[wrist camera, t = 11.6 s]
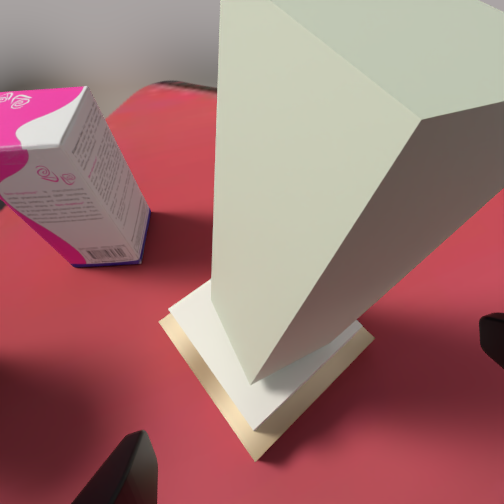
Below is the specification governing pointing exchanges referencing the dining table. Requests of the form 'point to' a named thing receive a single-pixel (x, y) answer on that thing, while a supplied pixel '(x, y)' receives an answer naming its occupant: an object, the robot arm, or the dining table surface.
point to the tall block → (344, 158)
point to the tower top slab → (229, 368)
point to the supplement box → (70, 177)
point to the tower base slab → (288, 411)
